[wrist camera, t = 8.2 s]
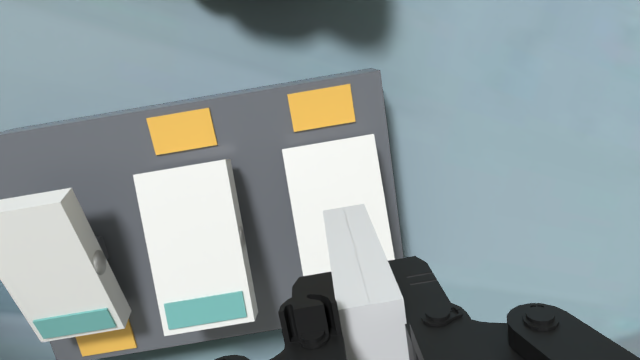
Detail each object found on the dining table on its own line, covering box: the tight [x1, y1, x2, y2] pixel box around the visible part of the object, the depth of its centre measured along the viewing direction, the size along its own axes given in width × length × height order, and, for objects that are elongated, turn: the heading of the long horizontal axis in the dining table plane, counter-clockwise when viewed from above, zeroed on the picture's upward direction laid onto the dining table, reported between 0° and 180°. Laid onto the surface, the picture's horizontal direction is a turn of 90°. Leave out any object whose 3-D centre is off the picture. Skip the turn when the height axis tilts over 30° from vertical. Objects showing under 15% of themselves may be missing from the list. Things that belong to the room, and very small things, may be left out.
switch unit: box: [0, 68, 403, 360], centre depth 32 cm, size 17×26×6 cm, turn 99°
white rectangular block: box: [282, 134, 395, 276], centre depth 28 cm, size 10×6×2 cm, turn 9°
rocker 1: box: [0, 188, 131, 342], centre depth 28 cm, size 10×6×2 cm, turn 9°
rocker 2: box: [133, 159, 258, 336], centre depth 28 cm, size 10×6×2 cm, turn 9°
